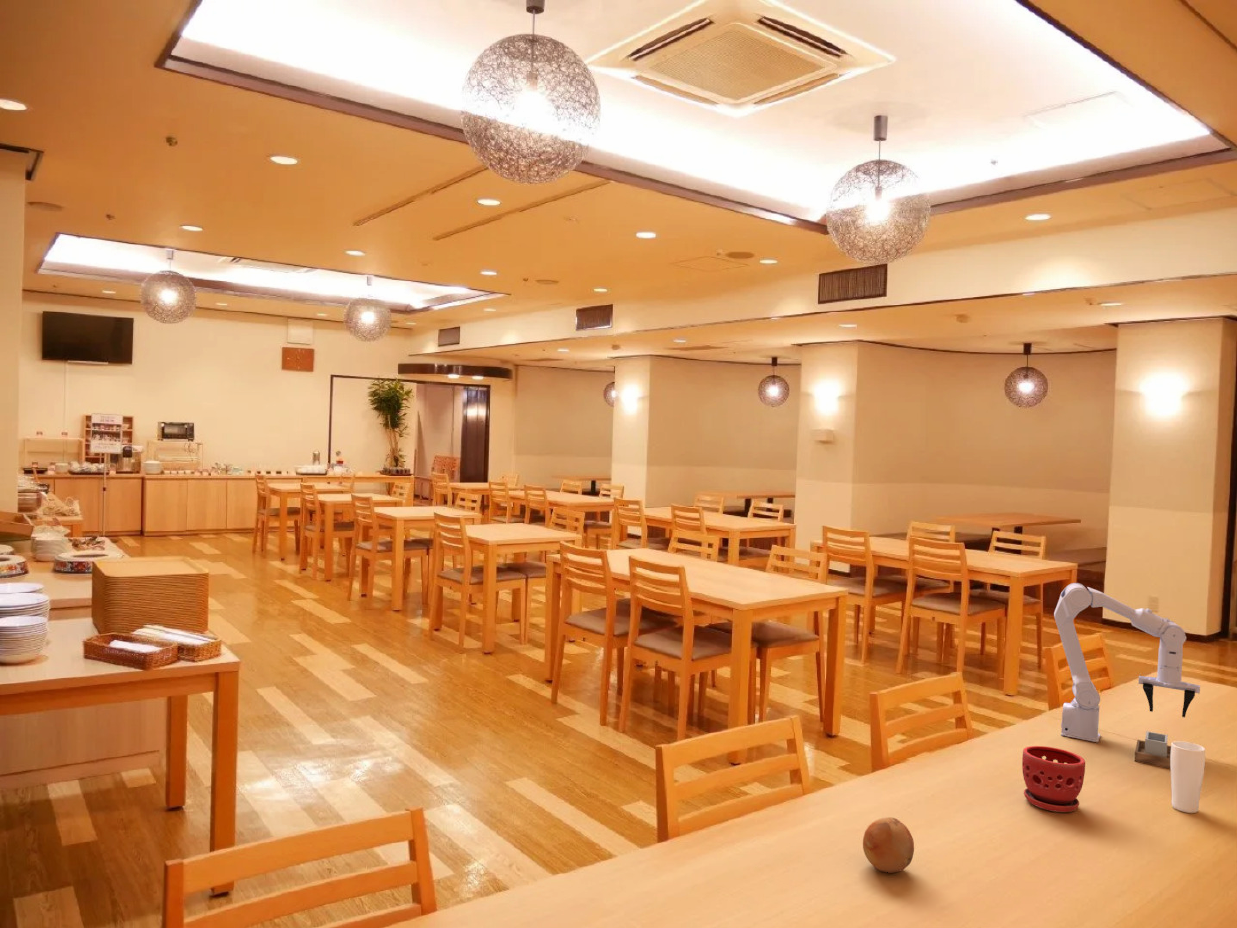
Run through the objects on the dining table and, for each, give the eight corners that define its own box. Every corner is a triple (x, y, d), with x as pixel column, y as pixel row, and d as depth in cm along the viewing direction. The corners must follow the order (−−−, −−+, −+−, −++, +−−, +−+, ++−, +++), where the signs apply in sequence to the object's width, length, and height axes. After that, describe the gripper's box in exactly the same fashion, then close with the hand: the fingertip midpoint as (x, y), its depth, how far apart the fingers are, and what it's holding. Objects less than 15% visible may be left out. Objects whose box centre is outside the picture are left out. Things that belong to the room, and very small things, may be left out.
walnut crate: (1134, 761, 231) (1134, 751, 231) (1137, 748, 241) (1137, 739, 241) (1175, 769, 226) (1175, 760, 226) (1176, 755, 236) (1176, 746, 236)
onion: (872, 851, 175) (874, 803, 175) (921, 868, 169) (923, 818, 168) (852, 869, 167) (854, 819, 167) (902, 887, 161) (905, 835, 161)
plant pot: (1091, 819, 194) (1093, 767, 193) (1028, 812, 196) (1031, 760, 196) (1072, 796, 206) (1075, 746, 206) (1014, 789, 209) (1016, 741, 209)
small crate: (1144, 759, 231) (1145, 739, 231) (1145, 750, 238) (1146, 730, 238) (1166, 763, 228) (1167, 743, 228) (1166, 754, 235) (1167, 734, 235)
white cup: (1191, 803, 204) (1195, 741, 203) (1208, 816, 197) (1212, 752, 197) (1161, 801, 205) (1165, 739, 204) (1177, 814, 198) (1180, 750, 197)
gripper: (1138, 663, 242) (1136, 711, 242) (1201, 673, 234) (1198, 722, 234) (1140, 659, 248) (1137, 705, 248) (1201, 667, 239) (1198, 716, 240)
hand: (1167, 713), depth 241 cm, fingers open, 7 cm apart
